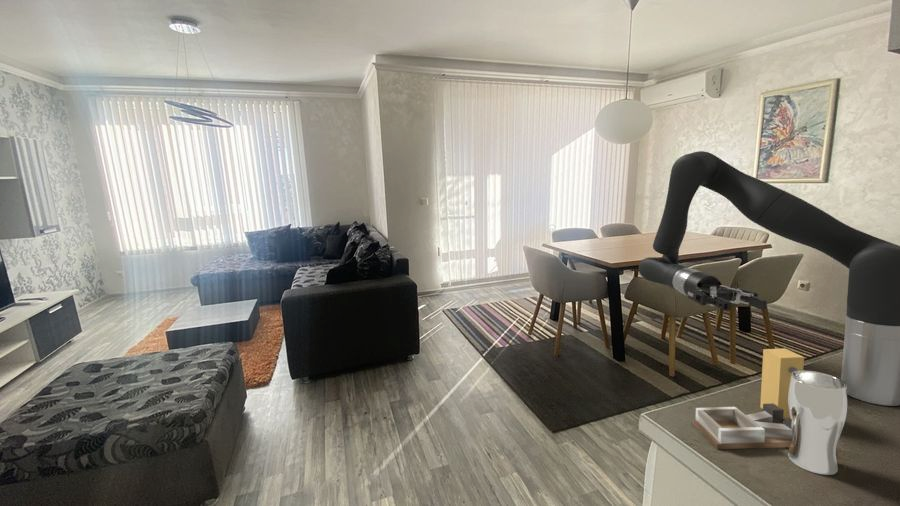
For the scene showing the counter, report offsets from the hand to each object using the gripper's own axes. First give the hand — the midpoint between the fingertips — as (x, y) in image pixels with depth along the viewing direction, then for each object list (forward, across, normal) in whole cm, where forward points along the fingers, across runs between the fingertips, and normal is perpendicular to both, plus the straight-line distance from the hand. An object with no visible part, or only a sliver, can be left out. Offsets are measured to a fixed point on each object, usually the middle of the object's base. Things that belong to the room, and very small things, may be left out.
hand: (747, 306), depth 85 cm
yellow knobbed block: (+12, 0, +19) cm, 22 cm away
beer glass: (+26, -9, +18) cm, 33 cm away
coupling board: (+17, -13, +19) cm, 28 cm away
